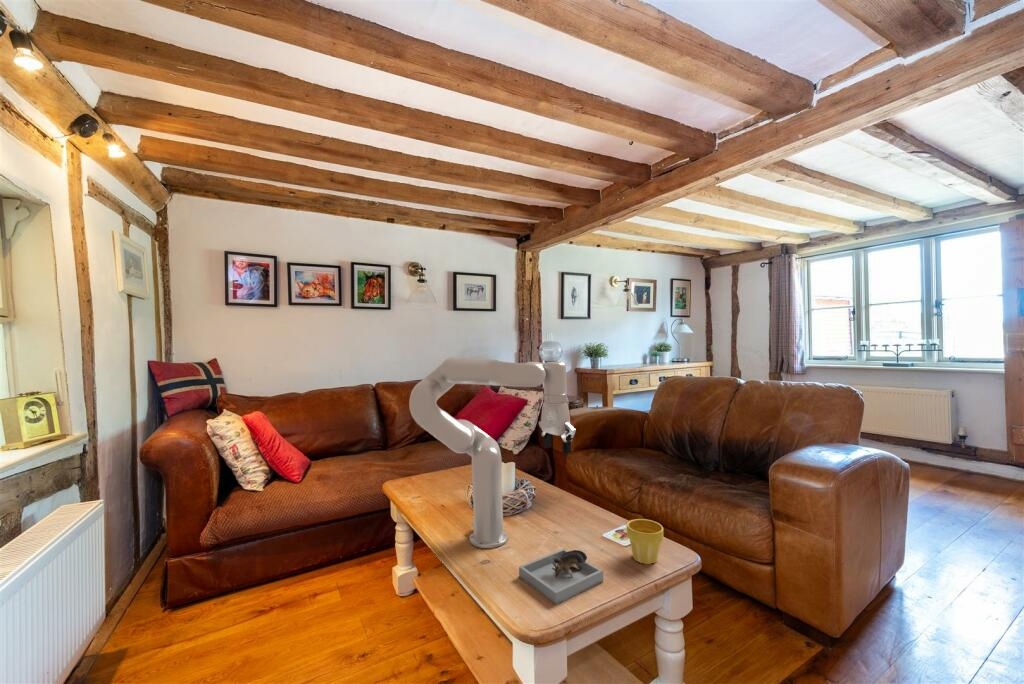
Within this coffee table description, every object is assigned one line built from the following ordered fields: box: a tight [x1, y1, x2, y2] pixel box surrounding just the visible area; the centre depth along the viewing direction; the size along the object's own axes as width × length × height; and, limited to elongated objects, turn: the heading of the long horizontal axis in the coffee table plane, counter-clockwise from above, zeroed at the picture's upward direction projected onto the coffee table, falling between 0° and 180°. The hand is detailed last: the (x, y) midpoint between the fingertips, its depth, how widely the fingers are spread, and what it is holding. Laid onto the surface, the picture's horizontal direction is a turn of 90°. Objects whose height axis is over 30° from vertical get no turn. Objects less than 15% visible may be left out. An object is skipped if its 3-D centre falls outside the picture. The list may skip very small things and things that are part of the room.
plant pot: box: [626, 518, 664, 565], centre depth 128 cm, size 10×10×10 cm
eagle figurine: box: [550, 549, 588, 578], centre depth 120 cm, size 8×7×9 cm
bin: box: [518, 548, 604, 606], centre depth 119 cm, size 16×17×3 cm
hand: (556, 450), depth 144 cm, fingers open, 9 cm apart
